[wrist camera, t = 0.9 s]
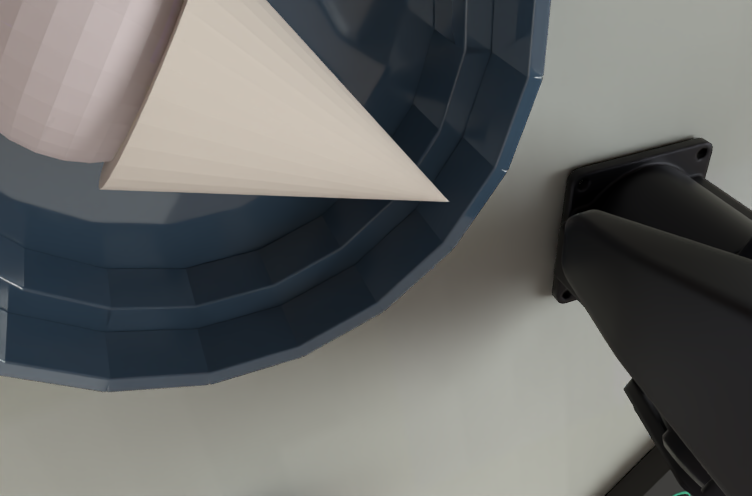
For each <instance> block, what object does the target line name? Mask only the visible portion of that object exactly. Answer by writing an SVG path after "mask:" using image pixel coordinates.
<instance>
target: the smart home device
mask: <svg viewBox="0 0 752 496" xmlns="http://www.w3.org/2000/svg"><path fill="white" fill-rule="evenodd" d="M606 496H690V494H689V493H688V492H687V491H685V490H684V489H683V488H682V487H681V486H680V485H679V483H678V481H677V480H676V478H675V476H674V475H673V473H672V471H671V470H670V468H669V466H668V465H667V463H666V461H665V460H664V458H663V456H662V455H661V453H660V451H659V450H658V448H657V446H655V447H654V448H653V449H652V450H651V451H650V452H649V453H648V454H647V455H646V456H645V457H644V458H643V459H642V460H641V461H640V462H639V463H638V464H637V465H636V466H635V467H634V468H633V469H632V470H631V471H630V472H629V473H628V474H627V475H626V476H625V477H624V478H623V479H622V480H621V481H620V482H619V483H618V484H617V485H616V486H615V487H614V488H613V489H612V490H611V491H610V492H609V493H608V494H607V495H606Z"/></svg>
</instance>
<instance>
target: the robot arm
mask: <svg viewBox="0 0 752 496" xmlns="http://www.w3.org/2000/svg"><path fill="white" fill-rule="evenodd" d="M712 148H713V147H712V144H711V143H709V142H708V141H706V140H704V139H703V138H696V139H692V140H688V141H684V142H680V143H676V144H673V145H669V146H665V147H661V148H657V149H653V150H649V151H645V152H641V153H637V154H633V155H629V156H625V157H621V158H618V159H614V160H610V161H606V162H602V163H598V164H594V165H590V166H586V167H582V168H579V169H577V170H575V171H574V172H572V173H571V174H570V176H569V177H568V180H567V184H566V192H565V199H564V206H563V214H562V221H561V227H560V232H559V240H558V247H557V255H556V262H555V269H554V281H553V288H552V295H553V296H554V297H555V299H556V300H557V301H558V302H559V303H562V304H563V303H568V302H571V301H574V300H578V301H579V302H580V303H581V304H582V305H583V306H584V307H585V309H586V310H587V312H588V313H589V315H590V317H591V318H592V320H593V321H594V323H595V325H596V326H597V328H598V329H599V331H600V333H601V334H602V336H603V337H604V339H605V340H606V342H607V344H608V345H609V347H610V348H611V350H612V351H613V353H614V354H615V356H616V357H617V359H618V360H619V361H620V363H621V364H622V365H623V366H624V368H625V369H626V370H627V372H628V373H629V374H630V376H631V377H632V379H631V380H630V382H629V383H628V384H627V385H626V386H625V388H624V391H625V393H626V394H627V396H628V398H629V399H630V401H631V403H632V404H633V406H634V410H635V411H636V413H637V415H638V416H639V418H640V420H641V421H642V423H643V425H644V426H645V428H646V430H647V431H648V433H649V435H650V436H651V438H652V440H653V441H654V443H655V445H656V446H657V448H658V450H659V451H660V453H661V455H662V456H663V458H664V460H665V461H666V463H667V465H668V466H669V468H670V470H671V471H672V473H673V475H674V476H675V478H676V480H677V481H678V483H679V485H680V486H681V487H682V488H683V489H684V490H685V491H687V492H688V493H689V494H690V496H752V210H750V209H749V208H747V207H746V206H744V205H743V204H741V203H740V202H738V201H737V200H735V199H734V198H733V197H731V196H730V195H728V194H727V193H725V192H724V191H722V190H721V189H719V188H718V187H716V186H715V185H713V184H712V183H711V182H709V181H708V180H706V179H705V176H706V172H707V169H708V165H709V161H710V157H711V154H712ZM581 180H583V181H582V182H581ZM580 182H581V183H580ZM579 183H580V184H579Z"/></svg>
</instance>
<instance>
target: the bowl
mask: <svg viewBox="0 0 752 496" xmlns="http://www.w3.org/2000/svg"><path fill="white" fill-rule="evenodd" d="M267 1H268V3H269V4H270V5H271V6H272V7H273V8H274V9H275V10H276V11H277V12H278V14H279V15H280V16H281V17H282V18H283V19H284V20H285V21H286V22H287V24H288V25H289V26H290V27H291V28H292V29H293V30H294V31H295V32H296V33H297V35H298V36H299V37H300V38H301V39H302V40H303V41H304V42H305V43H306V44H307V46H308V47H309V48H310V49H311V50H312V51H313V52H314V53H315V54H316V55H317V57H318V58H319V59H320V60H321V61H322V62H323V63H324V64H325V65H326V67H327V68H328V69H329V70H330V71H331V72H332V73H333V74H334V75H335V76H336V78H337V79H338V80H339V81H340V82H341V83H342V84H343V85H344V86H345V87H346V89H347V90H348V91H349V92H350V93H351V94H352V95H353V96H354V97H355V98H356V100H357V101H358V102H359V103H360V104H361V105H362V106H363V107H364V108H365V110H366V111H367V112H368V113H369V114H370V115H371V116H372V117H373V118H374V119H375V121H376V122H377V123H378V124H379V125H380V126H381V127H382V128H383V129H384V130H385V132H386V133H387V134H388V135H389V136H390V137H391V138H392V139H393V140H394V141H395V143H396V144H397V145H398V146H399V147H400V148H401V149H402V150H403V151H404V152H405V154H406V155H407V156H408V157H409V158H410V159H411V160H412V161H413V162H414V164H415V165H416V166H417V167H418V168H419V169H420V170H421V171H422V172H423V173H424V175H425V176H426V177H427V178H428V179H429V180H430V181H431V182H432V183H433V184H434V186H435V187H436V188H437V189H438V190H439V191H440V192H441V193H442V194H443V195H444V197H445V198H446V199H447V200H448V201H449V202H438V201H410V200H382V199H354V198H325V197H297V196H269V195H241V194H213V193H185V192H157V191H128V190H100V189H99V180H100V176H101V171H102V168H103V164H104V162H97V163H84V162H74V161H64V160H60V159H56V158H53V157H49V156H46V155H42V154H39V153H35V152H33V151H31V150H29V149H27V148H25V147H23V146H21V145H19V144H17V143H15V142H13V141H11V140H9V139H8V138H6V137H5V136H4V135H2V134H1V133H0V376H5V377H12V378H18V379H24V380H31V381H37V382H43V383H50V384H56V385H63V386H69V387H75V388H82V389H88V390H94V391H101V392H106V391H107V392H118V391H132V390H146V389H160V388H174V387H188V386H203V385H209V384H215V383H218V382H221V381H225V380H228V379H231V378H235V377H238V376H241V375H245V374H248V373H251V372H255V371H258V370H261V369H265V368H268V367H271V366H275V365H278V364H281V363H285V362H288V361H292V360H295V359H298V358H301V357H302V356H303V357H304V356H306V355H307V354H309V353H311V352H313V351H315V350H316V349H318V348H320V347H322V346H324V345H325V344H327V343H329V342H331V341H333V340H334V339H336V338H338V337H340V336H341V335H343V334H345V333H347V332H349V331H350V330H352V329H354V328H356V327H358V326H359V325H361V324H363V323H365V322H367V321H368V320H370V319H372V318H374V317H376V316H377V315H379V314H381V313H383V310H384V311H385V310H386V309H388V308H389V307H390V306H391V305H392V304H393V303H394V302H395V301H396V300H398V299H399V298H400V297H401V296H402V295H403V294H404V293H405V292H406V291H408V290H409V289H410V288H411V287H412V286H413V285H414V284H415V283H416V282H418V281H419V280H420V279H421V278H422V277H423V276H424V275H425V274H427V273H428V272H429V271H430V270H431V269H432V268H433V267H434V266H435V265H437V264H438V263H439V262H440V261H441V260H442V259H443V258H444V257H445V256H447V255H448V254H449V253H450V252H451V251H452V249H454V248H455V246H456V245H457V243H458V242H459V241H460V239H461V238H462V236H463V235H464V233H465V232H466V230H467V229H468V228H469V226H470V225H471V223H472V222H473V220H474V219H475V217H476V216H477V215H478V213H479V212H480V210H481V209H482V207H483V206H484V205H485V203H486V202H487V200H488V199H489V197H490V196H491V194H492V193H493V192H494V190H495V189H496V187H497V186H498V184H499V183H500V181H501V180H502V179H503V177H504V176H505V174H506V173H507V170H508V169H509V167H510V164H511V161H512V159H513V156H514V153H515V151H516V148H517V145H518V143H519V140H520V137H521V135H522V132H523V129H524V127H525V124H526V122H527V119H528V116H529V114H530V111H531V108H532V106H533V103H534V100H535V98H536V95H537V92H538V90H539V87H540V85H541V82H542V79H543V77H542V76H543V75H544V65H545V55H546V45H547V35H548V25H549V15H550V6H551V0H267Z"/></svg>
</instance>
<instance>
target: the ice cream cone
mask: <svg viewBox="0 0 752 496" xmlns="http://www.w3.org/2000/svg"><path fill="white" fill-rule="evenodd" d="M0 133H1V134H2V135H4V136H5V137H6V138H8V139H9V140H11V141H13V142H15V143H17V144H19V145H21V146H23V147H25V148H27V149H29V150H31V151H33V152H35V153H39V154H42V155H46V156H49V157H53V158H56V159H60V160H64V161H74V162H84V163H97V162H104V164H103V168H102V171H101V176H100V180H99V189H100V190H128V191H157V192H185V193H213V194H241V195H269V196H297V197H325V198H354V199H382V200H410V201H438V202H449V201H448V200H447V199H446V198H445V197H444V195H443V194H442V193H441V192H440V191H439V190H438V189H437V188H436V187H435V186H434V184H433V183H432V182H431V181H430V180H429V179H428V178H427V177H426V176H425V175H424V173H423V172H422V171H421V170H420V169H419V168H418V167H417V166H416V165H415V164H414V162H413V161H412V160H411V159H410V158H409V157H408V156H407V155H406V154H405V152H404V151H403V150H402V149H401V148H400V147H399V146H398V145H397V144H396V143H395V141H394V140H393V139H392V138H391V137H390V136H389V135H388V134H387V133H386V132H385V130H384V129H383V128H382V127H381V126H380V125H379V124H378V123H377V122H376V121H375V119H374V118H373V117H372V116H371V115H370V114H369V113H368V112H367V111H366V110H365V108H364V107H363V106H362V105H361V104H360V103H359V102H358V101H357V100H356V98H355V97H354V96H353V95H352V94H351V93H350V92H349V91H348V90H347V89H346V87H345V86H344V85H343V84H342V83H341V82H340V81H339V80H338V79H337V78H336V76H335V75H334V74H333V73H332V72H331V71H330V70H329V69H328V68H327V67H326V65H325V64H324V63H323V62H322V61H321V60H320V59H319V58H318V57H317V55H316V54H315V53H314V52H313V51H312V50H311V49H310V48H309V47H308V46H307V44H306V43H305V42H304V41H303V40H302V39H301V38H300V37H299V36H298V35H297V33H296V32H295V31H294V30H293V29H292V28H291V27H290V26H289V25H288V24H287V22H286V21H285V20H284V19H283V18H282V17H281V16H280V15H279V14H278V12H277V11H276V10H275V9H274V8H273V7H272V6H271V5H270V4H269V3H268V1H267V0H0Z"/></svg>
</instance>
